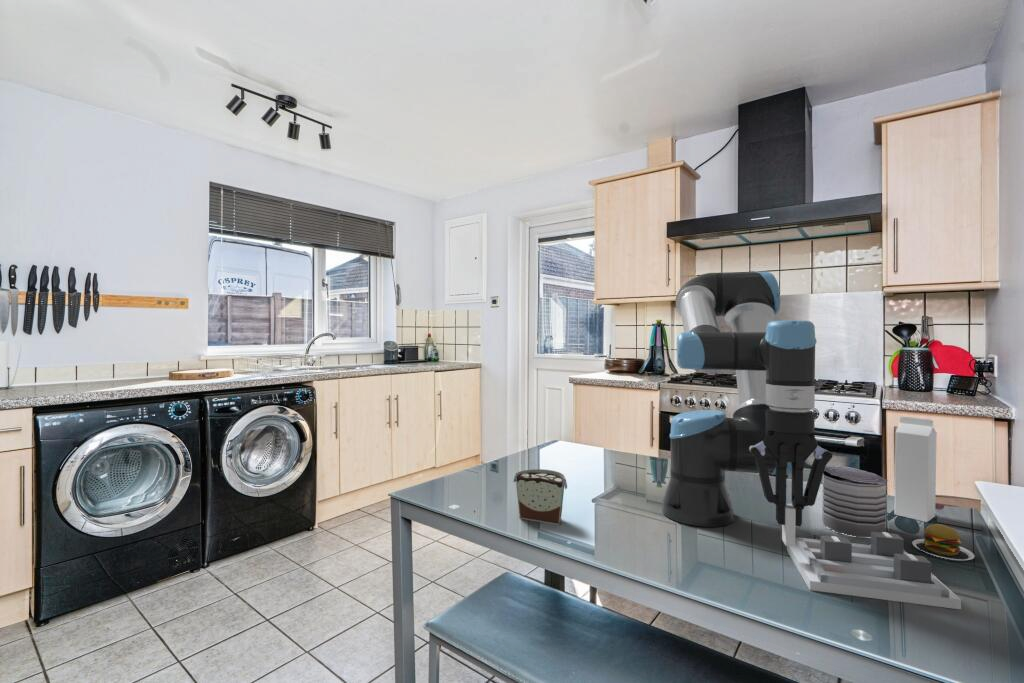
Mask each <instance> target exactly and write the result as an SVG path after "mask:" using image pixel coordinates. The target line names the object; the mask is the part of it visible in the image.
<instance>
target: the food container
mask: <svg viewBox="0 0 1024 683" xmlns="http://www.w3.org/2000/svg"><path fill="white" fill-rule="evenodd" d="M513 477H514V478H513V483H515V484H516V485H515V486H516V495H517V496H516V497H517V504H518V505H517V507H518V515H519V520H526V521H533V522H538V523H545V524H550V525H556V526H560V525H561V522H562V514H563V512H562V511H563V502H564V495H565V494H564V493H565V490H567V489H568V482H567V479H566V477H565V475H564V473H562V472H559V471H556V470H551V469H542V468H541V469H540V468H539V469H537V468H535V469H526V470H519V471H518V472H515V474H514V476H513Z"/></svg>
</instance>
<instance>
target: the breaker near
mask: <svg viewBox="0 0 1024 683" xmlns="http://www.w3.org/2000/svg"><path fill="white" fill-rule="evenodd" d="M931 573H932V562H931V561H930V560H928V559H927V558H926V557H925V556H922V555H916V554H915V555H914V554H911V553H908V554H896V553H894V571H893V578H894V579H895V580H903V581H911V582H920V583H928V584H931Z"/></svg>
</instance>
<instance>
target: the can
mask: <svg viewBox="0 0 1024 683" xmlns="http://www.w3.org/2000/svg"><path fill="white" fill-rule="evenodd" d="M888 481H889V479H886V478H884V477H882V476H880V475H878V474H876V473H873V472H869V471H866V470H862V469H859V468H855V467H851V466H841V465H830V464H826V466H825V469H824V473H823V476H822V506H821V508H822V509H821V510H822V512H821V514H822V517H821V521H823V522H822V526H823V527H824V526H825V527H824V528H826V527H828V528H830V529H831V530H830V529H829V530H830V531H832V530H834V531H835V532H834V531H833V532H834V533H836V532H838V533H837V534H839V533H844V534H847V535H852V536H856V537H871V532H880V533H882V532H886V530H887V528H886V525H887V524H886V523H887V482H888ZM828 528H827V529H828ZM847 535H846V536H847Z"/></svg>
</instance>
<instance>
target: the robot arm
mask: <svg viewBox="0 0 1024 683" xmlns="http://www.w3.org/2000/svg"><path fill="white" fill-rule="evenodd" d="M780 293H781V290H780V287H779V283H778V280H777V279H776V277H775V275H774V274H773V273H772V272H769V271H758V270H752V271H744V272H743V271H737V272H733V271H730V272H727V271H726V272H707V273H702V274H700V275H697V276H695V277H692V278H691V279H690V280H688V281H686V282H685V283H684V284H683V285H682V286H681V287H680V288H679V290H678V292H677V294H676V297H675V307H676V310H677V313H678V315H679V316H681V320H682V327H683V332H680V333H678V335H677V337H676V363H677V364H676V365H677V366H678V367H679V368H680V369H683V370H694V371H703V370H704V371H705V370H706V371H709V370H710V371H735V376H736V386H737V396H738V397H737V399H738V407H737V408H736V409H735V410H734V411H733V412H732V417H727V415H726V412H724V411H723V410H718V409H716V410H715V409H713V410H711V409H703V410H701V409H700V410H692V411H686V412H681V413H678V414H676V415H674V416H673V418H672V419H671V422H670V433H669V439H670V462H669V463H670V464H669V465H670V471H669V472H670V473H669V474H670V476H669V477H670V478H669V481H668V484H667V487H666V490H665V492H664V495H663V498H662V502H661V504H662V505H661V507H662V509H661V510H662V511H661V512H662V514H663V515H664V516H665V517H667V518H668V519H670V520H673V521H675V522H678V523H681V524H685V525H689V526H695V527H703V528H704V527H708V528H709V527H710V528H711V527H713V528H714V527H723V526H726V525H729V524H732V522H733V521H734V507H733V504H732V501H731V498H730V495H729V492H728V488H727V485H726V472H738V473H749V474H758V475H759V479H760V483H761V487H762V491H763V495H764V498H765V499H766V500H767V502H768V503H772V504H774V505H775V520H776V522H777V524H778V525H781V540H782V542H783V544H784V545H785V546H786V547H787V546H793V547H795V544H796V527H802V525H803V510H804V509H805V507H812V506H814V505H815V503H816V500H817V497H818V493H819V489H820V486H821V484H822V481H823V473H824V469H825V466H827V465H828V463H829V462H830V460H831V459H832V458H833V456H834V455H833V453H832V452H830V451H829V450H827V449H825V448H822V447H821V446H820V445H818V444H819V443H818V440H817V438H816V436H815V430H816V429H815V427H816V426H815V421H816V420H815V418H816V417H815V416H816V415H815V412H814V411H813V409H814V408H815V401H816V400H815V392H816V391H815V383H816V380H815V378H816V377H815V376H816V375H815V374H816V371H815V370H816V344H817V339H816V331H815V330H816V327H815V324H814V322H812V321H810V320H774V319H775V316H776V315H777V314H778V313H779V311H780V307H781V296H780ZM718 317H724V323H725V325H727V326H728V327H729V328H731V331H722V329H721V327H720V322H719V320H718ZM812 453H813V457H814V459H813V460H812V464H811V467H810V470H809V474H808V478H807V480H806V481H807V482H806V486H805V489H804V469H805V461H807V459H809V457H810V456H811V455H812ZM770 475H771V476H775V486H774V487H775V489H774V490H775V491H773V488H772V483H771V480H770ZM789 475H791V503H787V476H789Z"/></svg>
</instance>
